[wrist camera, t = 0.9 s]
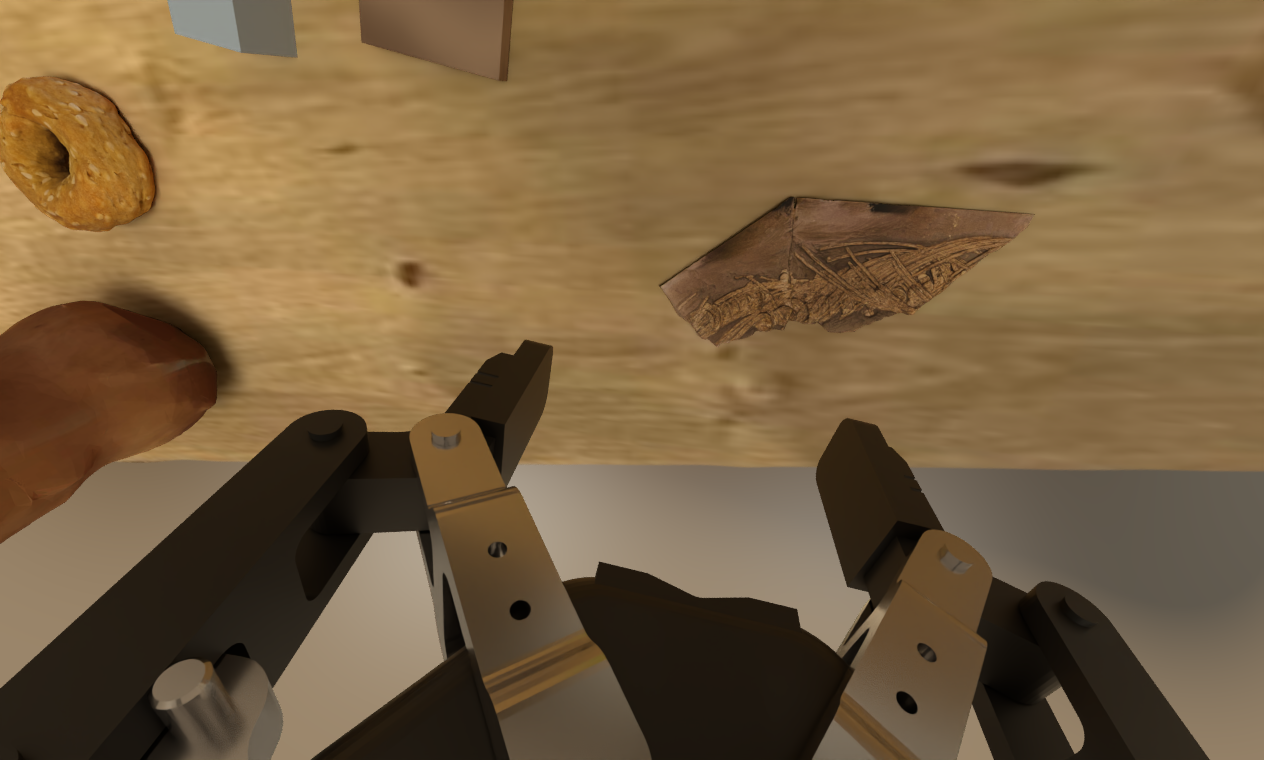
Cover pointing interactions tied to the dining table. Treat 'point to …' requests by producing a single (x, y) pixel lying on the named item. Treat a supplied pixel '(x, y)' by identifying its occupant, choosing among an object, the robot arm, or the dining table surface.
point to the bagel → (73, 154)
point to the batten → (238, 24)
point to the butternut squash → (89, 399)
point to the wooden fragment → (834, 265)
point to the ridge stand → (443, 32)
